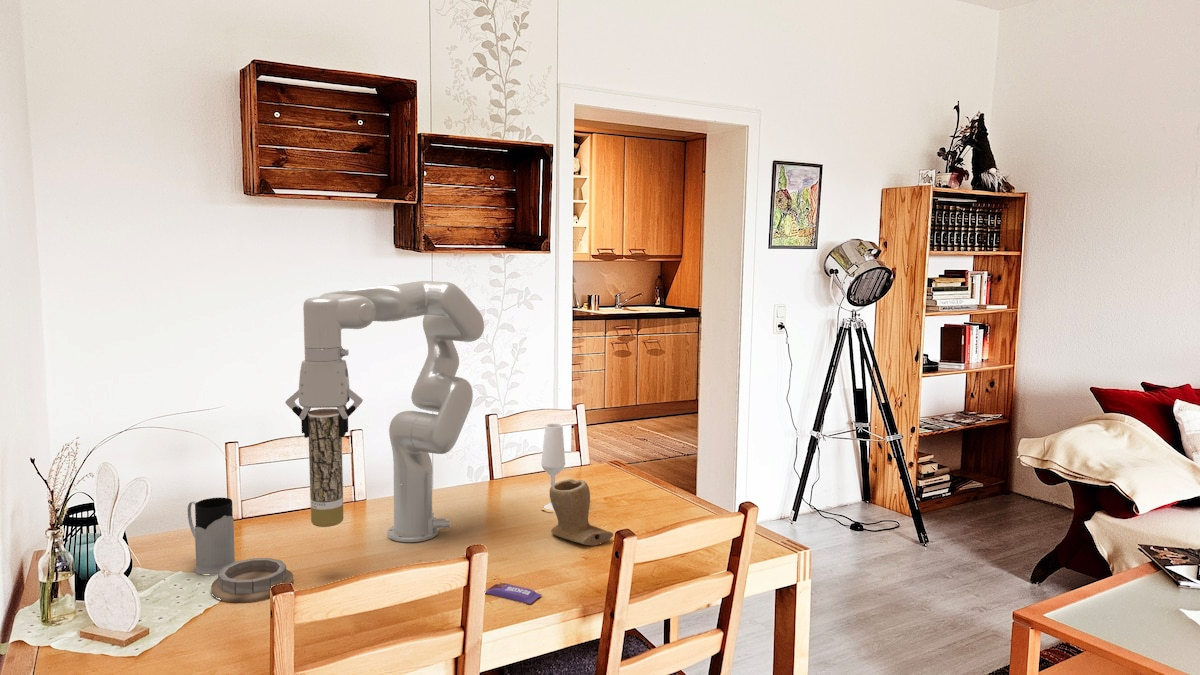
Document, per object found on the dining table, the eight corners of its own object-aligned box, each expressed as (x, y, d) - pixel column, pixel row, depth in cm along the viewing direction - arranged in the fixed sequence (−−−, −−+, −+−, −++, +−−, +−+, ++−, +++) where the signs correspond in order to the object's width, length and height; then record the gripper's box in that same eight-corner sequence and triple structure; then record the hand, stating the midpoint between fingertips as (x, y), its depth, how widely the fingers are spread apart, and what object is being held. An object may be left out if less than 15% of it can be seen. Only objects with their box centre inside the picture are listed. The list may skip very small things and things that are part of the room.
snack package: (542, 590, 170) (530, 599, 165) (542, 599, 170) (530, 608, 166) (496, 579, 175) (483, 588, 170) (496, 587, 175) (483, 596, 171)
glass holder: (208, 578, 175) (206, 511, 173) (171, 563, 182) (169, 499, 180) (245, 565, 182) (243, 501, 180) (208, 551, 189) (206, 490, 188)
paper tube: (333, 529, 174) (330, 416, 170) (304, 526, 175) (301, 414, 172) (349, 518, 180) (346, 409, 177) (321, 516, 181) (318, 407, 178)
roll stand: (300, 570, 180) (300, 554, 180) (283, 601, 165) (283, 583, 164) (225, 572, 178) (224, 556, 177) (200, 604, 162) (199, 586, 162)
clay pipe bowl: (539, 537, 205) (540, 479, 203) (573, 526, 213) (574, 471, 211) (580, 554, 194) (581, 493, 192) (614, 542, 202) (616, 484, 201)
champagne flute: (568, 508, 228) (570, 425, 225) (555, 514, 222) (556, 429, 219) (549, 503, 231) (551, 421, 228) (535, 509, 225) (537, 425, 223)
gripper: (367, 352, 178) (368, 431, 180) (285, 352, 175) (287, 432, 177) (362, 357, 170) (364, 439, 173) (276, 357, 168) (279, 441, 170)
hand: (325, 435), depth 175 cm, fingers closed on paper tube, 6 cm apart
